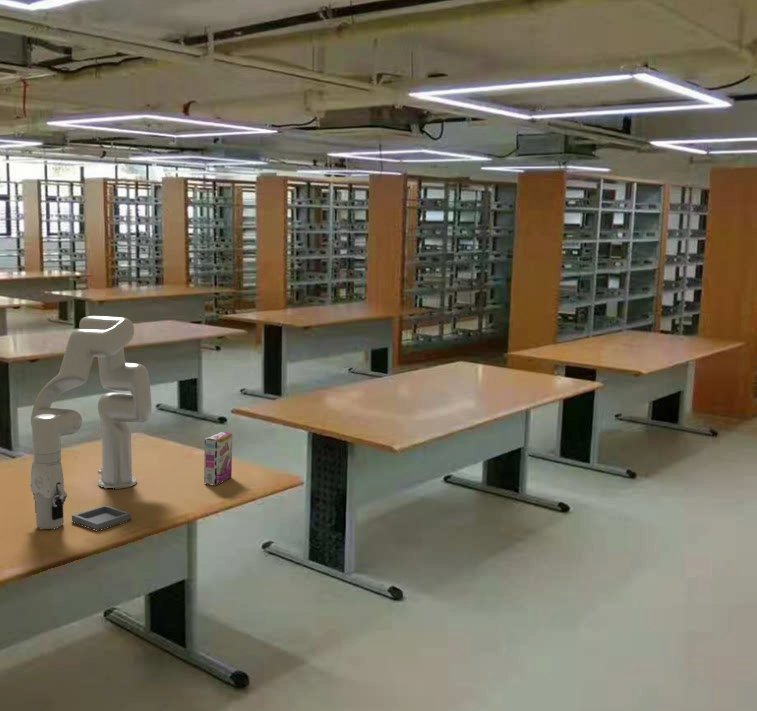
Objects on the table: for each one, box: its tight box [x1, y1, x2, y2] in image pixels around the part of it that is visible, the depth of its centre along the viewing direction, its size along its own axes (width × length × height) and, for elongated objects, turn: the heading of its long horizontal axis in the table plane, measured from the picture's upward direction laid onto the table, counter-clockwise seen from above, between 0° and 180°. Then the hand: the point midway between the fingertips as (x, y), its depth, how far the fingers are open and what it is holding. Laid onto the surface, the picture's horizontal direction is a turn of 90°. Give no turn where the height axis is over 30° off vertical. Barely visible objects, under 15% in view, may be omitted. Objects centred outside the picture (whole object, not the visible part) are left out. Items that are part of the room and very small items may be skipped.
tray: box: [71, 504, 132, 532], centre depth 249 cm, size 12×12×2 cm
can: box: [35, 490, 65, 530], centre depth 243 cm, size 8×8×12 cm
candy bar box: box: [203, 431, 233, 486], centre depth 290 cm, size 11×5×16 cm, turn 161°
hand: (49, 515), depth 243 cm, fingers closed on can, 7 cm apart
